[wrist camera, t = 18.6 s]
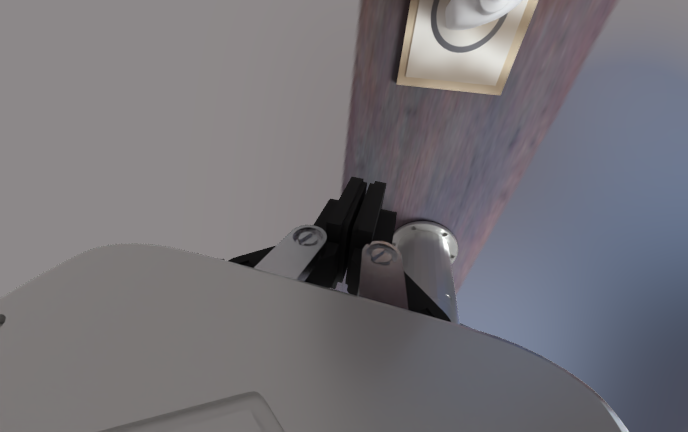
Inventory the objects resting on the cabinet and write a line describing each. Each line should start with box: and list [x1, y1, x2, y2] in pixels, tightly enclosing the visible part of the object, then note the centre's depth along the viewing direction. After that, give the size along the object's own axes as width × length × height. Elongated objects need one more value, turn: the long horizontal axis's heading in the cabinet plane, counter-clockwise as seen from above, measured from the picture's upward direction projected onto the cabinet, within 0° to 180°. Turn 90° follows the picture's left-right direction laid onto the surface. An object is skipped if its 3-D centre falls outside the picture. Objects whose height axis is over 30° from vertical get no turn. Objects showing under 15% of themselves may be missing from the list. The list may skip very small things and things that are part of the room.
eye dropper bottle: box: [445, 0, 522, 31], centre depth 22 cm, size 4×6×12 cm
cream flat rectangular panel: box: [397, 0, 538, 95], centre depth 27 cm, size 16×13×1 cm
